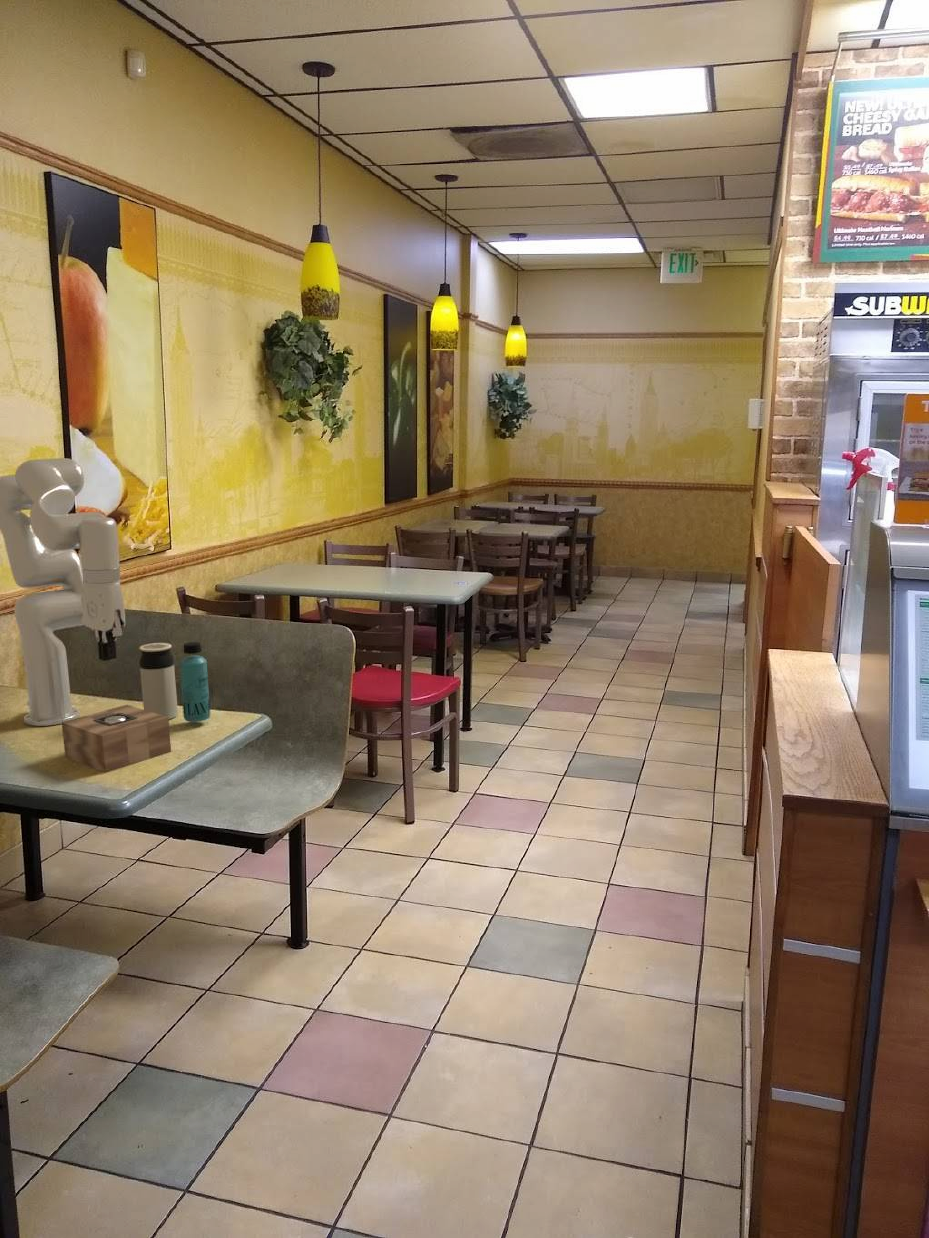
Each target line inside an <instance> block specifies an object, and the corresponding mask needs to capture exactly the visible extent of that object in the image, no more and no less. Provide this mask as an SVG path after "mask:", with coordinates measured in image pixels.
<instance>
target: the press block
mask: <svg viewBox="0 0 929 1238" xmlns="http://www.w3.org/2000/svg"><path fill="white" fill-rule="evenodd" d="M112 716H124V717H126V720H123V721H119V722H116V723H112V724H111V723H108V722H105V719H106V718H108V717H112ZM169 721H170V719H168V717H166V716H163V715H160V714H156V713H153V712H150V711H146V710H144V708H143V709H142V708H140V707H135V706H132V705H130V704H129V705H128V704H125V705H120V706H117V707H114V708H109V709H106V710H102V711H98V712H95V713H91V714H87V715H84V716H81V717H79V716H78V717H77V718H76V719H72V720H68V721H64V722H62V723H61V728H62V729H61V731H62V737H63V738H62V740H63V745H64V746H63V748H64V756H65V758H66V759H69V760H72V761H75V762H78V764H79V763H80V764H83V765H84V766H88V767H90V768H93V769H94V770H95V769H96V770H98V771H100V772H103V773H110V772H112V771H115V770H118V769H122V768H125V767H127V766H131V765H134V764H138V763H140V762H143V761H146V760H150V759H153V758H155V757H158V755H159V756H162V755H165V754H168V753H167V752H169V753H171V752H172V747H171V746H172V745H171V734H170V733H171V732H170V723H169ZM170 751H171V752H170ZM164 753H165V754H164ZM161 754H162V755H161Z"/></svg>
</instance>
